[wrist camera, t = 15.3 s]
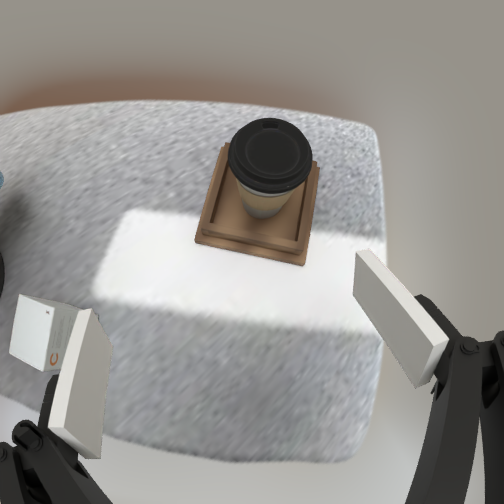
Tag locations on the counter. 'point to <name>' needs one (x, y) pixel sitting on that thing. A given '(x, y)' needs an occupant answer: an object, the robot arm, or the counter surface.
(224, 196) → the wooden tray
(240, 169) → the coffee cup
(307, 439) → the counter surface
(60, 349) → the small box
